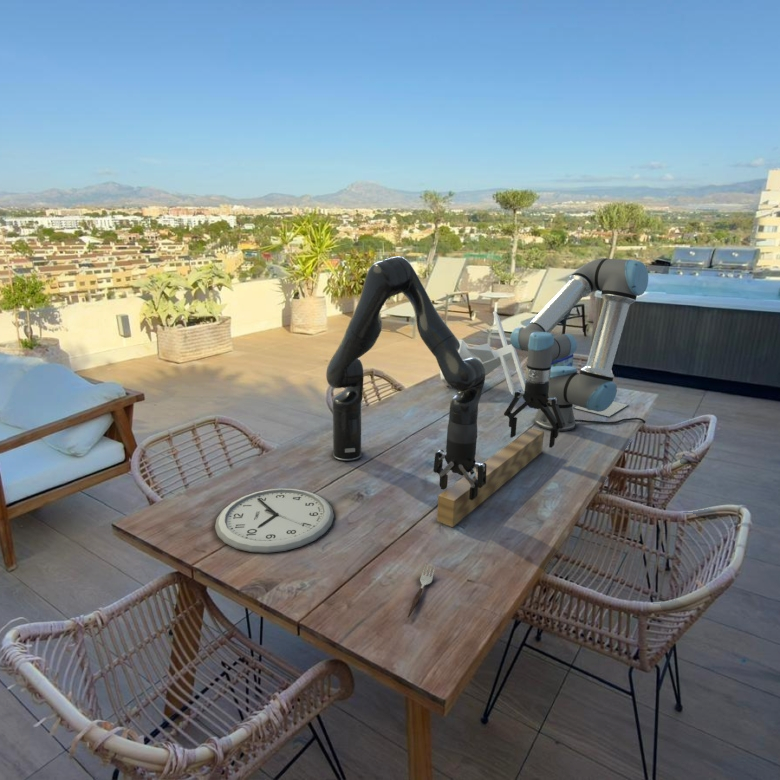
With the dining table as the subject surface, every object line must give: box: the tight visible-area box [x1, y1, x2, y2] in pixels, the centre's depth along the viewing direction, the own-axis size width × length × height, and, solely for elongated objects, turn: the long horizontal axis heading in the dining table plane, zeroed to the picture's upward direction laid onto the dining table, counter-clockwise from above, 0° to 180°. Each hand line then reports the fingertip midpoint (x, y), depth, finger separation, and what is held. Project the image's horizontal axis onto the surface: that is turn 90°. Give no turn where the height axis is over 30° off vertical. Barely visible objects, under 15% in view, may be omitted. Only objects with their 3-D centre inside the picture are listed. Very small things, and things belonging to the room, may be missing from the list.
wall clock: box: [214, 488, 335, 554], centre depth 135 cm, size 30×2×30 cm
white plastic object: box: [438, 310, 526, 397], centre depth 245 cm, size 37×45×31 cm
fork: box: [407, 563, 436, 618], centre depth 108 cm, size 3×16×2 cm, turn 160°
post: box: [436, 427, 545, 528], centre depth 157 cm, size 60×5×8 cm, turn 143°
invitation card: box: [573, 400, 629, 418], centre depth 226 cm, size 21×1×15 cm
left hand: (457, 493), depth 137 cm, fingers open, 8 cm apart
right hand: (531, 441), depth 175 cm, fingers open, 13 cm apart
